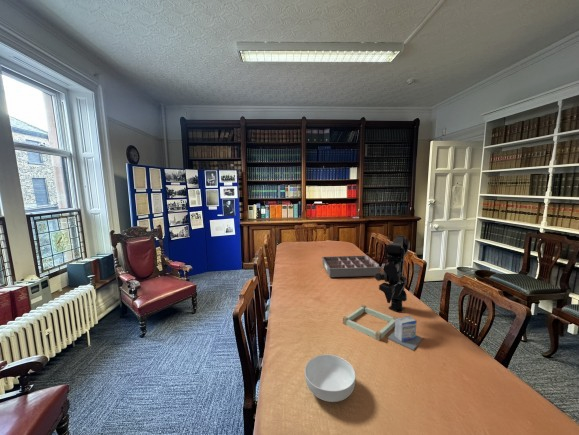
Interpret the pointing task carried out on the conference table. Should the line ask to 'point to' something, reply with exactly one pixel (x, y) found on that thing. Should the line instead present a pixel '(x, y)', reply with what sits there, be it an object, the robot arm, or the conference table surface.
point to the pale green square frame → (367, 331)
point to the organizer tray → (350, 266)
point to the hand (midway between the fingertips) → (392, 299)
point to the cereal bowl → (330, 377)
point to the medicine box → (405, 328)
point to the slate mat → (409, 343)
